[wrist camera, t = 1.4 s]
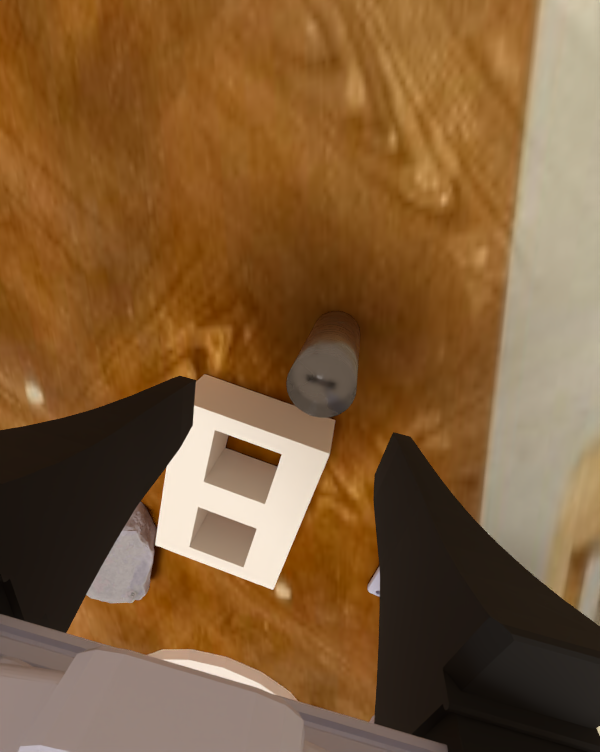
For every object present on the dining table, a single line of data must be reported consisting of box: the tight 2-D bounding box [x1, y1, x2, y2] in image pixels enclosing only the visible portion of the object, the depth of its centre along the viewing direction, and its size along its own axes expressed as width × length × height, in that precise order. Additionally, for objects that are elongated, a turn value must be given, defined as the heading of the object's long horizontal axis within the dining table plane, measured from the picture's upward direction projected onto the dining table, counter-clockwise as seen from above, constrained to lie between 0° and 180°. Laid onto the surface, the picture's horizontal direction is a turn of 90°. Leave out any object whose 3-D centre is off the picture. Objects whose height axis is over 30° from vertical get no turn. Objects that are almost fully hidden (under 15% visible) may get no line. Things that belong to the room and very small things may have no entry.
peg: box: [287, 311, 360, 418], centre depth 18 cm, size 3×3×8 cm
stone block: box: [86, 502, 157, 603], centre depth 33 cm, size 12×5×10 cm
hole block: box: [155, 374, 335, 590], centre depth 26 cm, size 10×14×4 cm
